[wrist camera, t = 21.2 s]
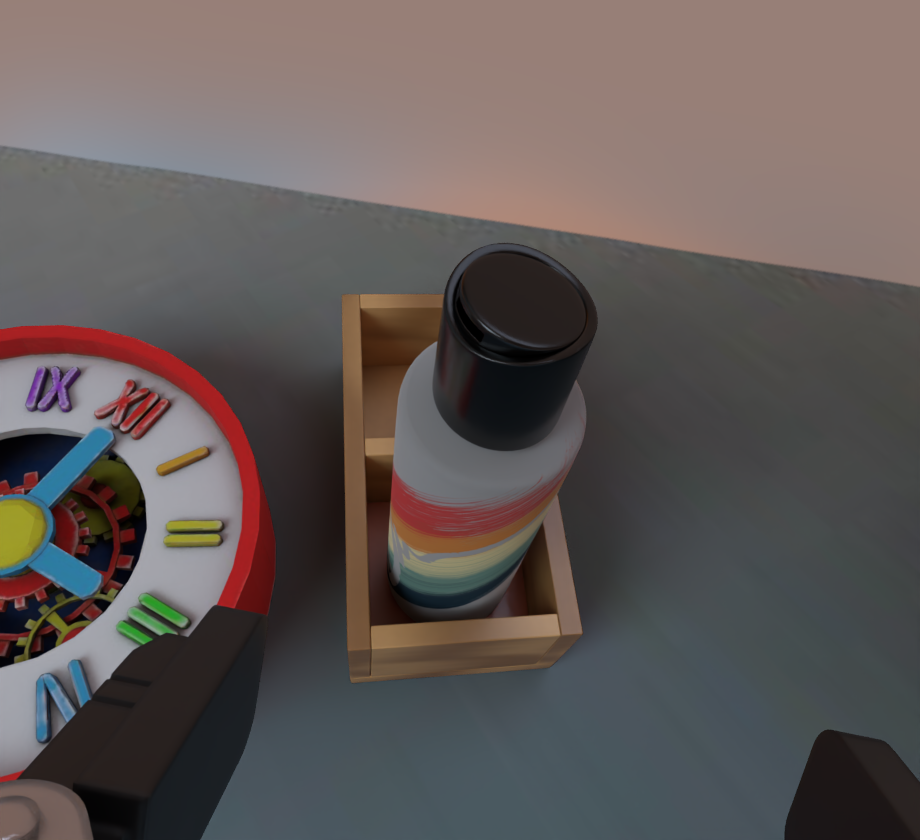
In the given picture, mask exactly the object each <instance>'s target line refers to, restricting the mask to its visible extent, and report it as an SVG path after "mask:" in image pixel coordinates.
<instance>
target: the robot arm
mask: <svg viewBox="0 0 920 840" xmlns="http://www.w3.org/2000/svg"><path fill="white" fill-rule="evenodd" d="M267 628H268V618H267V615H265V614H260V613H255V612H250V611H245V610H240V609H235V608H230V607H225V606H220V605H214V606H212V607H211V609H210V610H209V611H208V612H207V614H206V615H205V616H204V617H203V619H202V620H201V621H200V622H199V624H198V625H197V626H196V627H195V629H194V630H193V631H192V633H191V634H190V635H189V636H188V637H187V636H182V635H177V634H172V633H167V632H166V633H164V634H162V635H160V636H159V637H157V638H155V639H153V640H151V641H149V642H147V643H145V644H143V645H141V646H139V647H137V648H136V649H134V650H132V652H131V653H130V654H129V655H128V656H127V657H126V658H125V659H124V660H123V662H122V663H121V664H120V665H119V666H118V667H117V668H116V669H115V670H114V672H113V673H112V674H111V677H110V679H106V680H105V682H104V683H103V684H102V685H101V686H100V687H99V688H98V689H97V690H96V691H95V693H94V694H93V696H92V699H91V700H87V701H86V703H85V704H84V705H83V706H82V707H81V708H80V709H79V710H78V711H77V713H76V714H75V715H74V716H73V717H72V718H71V719H70V720H69V721H68V723H67V724H66V725H65V726H64V727H63V728H62V729H61V730H60V731H59V732H58V734H57V735H56V736H55V737H54V738H53V739H52V740H51V741H50V742H49V744H48V745H47V746H46V747H45V748H44V749H43V750H42V751H41V752H40V754H39V755H38V756H37V757H36V758H35V759H34V760H33V761H32V762H31V764H30V765H29V766H28V767H27V768H26V769H25V770H24V771H23V772H22V773H21V775H20V776H19V777H18V778H17V779H16V780H10V781H5V782H0V840H200V839H201V837H202V835H203V833H204V831H205V829H206V827H207V825H208V823H209V821H210V819H211V817H212V815H213V813H214V811H215V809H216V807H217V805H218V803H219V801H220V799H221V797H222V795H223V793H224V791H225V789H226V787H227V785H228V783H229V781H230V779H231V777H232V774H233V772H234V770H235V768H236V766H237V764H238V762H239V760H240V758H241V756H242V754H243V751H244V749H245V746H246V743H247V740H248V737H249V734H250V730H251V727H252V723H253V719H254V714H255V708H256V702H257V695H258V689H259V682H260V675H261V669H262V662H263V655H264V649H265V642H266V636H267ZM785 840H920V782H919V781H918V779H917V778H916V777H915V776H914V774H913V773H912V772H911V771H910V770H909V768H908V767H907V766H906V765H905V763H904V762H903V761H902V760H901V759H900V757H899V756H898V755H897V754H896V752H895V751H894V750H893V749H892V748H891V747H890V745H889V744H887V743H886V742H884V741H882V740H879V739H874V738H869V737H864V736H859V735H854V734H849V733H844V732H839V731H834V730H825V731H823V732H821V733H820V734H819V735H818V737H817V738H816V740H815V742H814V745H813V747H812V750H811V753H810V756H809V758H808V761H807V764H806V767H805V769H804V772H803V775H802V778H801V780H800V783H799V786H798V789H797V792H796V794H795V797H794V800H793V803H792V805H791V808H790V811H789V814H788V817H787V820H786V825H785Z"/></svg>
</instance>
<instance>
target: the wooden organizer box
mask: <svg viewBox="0 0 920 840" xmlns="http://www.w3.org/2000/svg"><path fill="white" fill-rule="evenodd" d="M443 298H444V294H360V295H358V294H343V295H342V340H343V404H344V467H345V531H346V594H347V651H348V661H349V672H350V681H351V683H359V682H372V681H385V680H398V679H411V678H424V677H437V676H450V675H463V674H476V673H488V672H501V671H514V670H527V669H540V668H550V667H551V666H552V665H553V664H554V663H555V662H556V661H557V660H558V659H559V658H560V657H561V656H562V655H563V654H564V653H565V652H566V651H567V650H568V649H569V648H570V647H571V646H572V645H573V644H574V643H575V642H576V641H577V640H578V639H579V638H580V637H581V636H582V635H583V630H582V625H581V619H580V614H579V608H578V603H577V597H576V592H575V586H574V581H573V575H572V570H571V564H570V559H569V553H568V548H567V542H566V537H565V531H564V526H563V520H562V515H561V509H560V504H559V498H558V493H557V495H556V497H555V499H554V501H553V503H552V505H551V507H550V509H549V511H548V512H547V514H546V516H545V518H544V520H543V522H542V524H541V526H540V528H539V530H538V532H537V533H536V535H535V537H534V539H533V541H532V543H531V545H530V547H529V549H528V551H527V552H526V554H525V556H524V558H523V560H522V562H521V564H520V566H519V568H518V570H517V572H516V573H515V575H514V577H513V579H512V581H511V583H510V585H509V587H508V589H507V590H506V592H505V594H504V596H503V597H502V599H501V601H500V602H499V604H498V605H497V606H496V608H495V609H494V610H493V611H492V612H491V613H490V614H489V615H488V616H487V617H486V618H482V619H467V620H452V621H437V622H422V623H417V622H416V621H414V620H413V619H411V618H410V617H409V616H408V615H407V614H406V613H405V612H404V611H403V610H402V609H401V608H400V606H399V605H398V604H397V602H396V600H395V599H394V597H393V595H392V592H391V589H390V586H389V582H388V575H387V551H388V535H389V520H390V504H391V489H392V473H393V458H394V442H395V428H396V416H397V405H398V397H399V392H400V388H401V385H402V382H403V379H404V377H405V375H406V373H407V371H408V369H409V367H410V366H411V364H412V363H413V361H414V360H415V359H416V358H417V357H418V356H419V355H420V354H421V353H422V352H423V351H424V350H425V349H426V348H428V347H429V346H430V345H432V344H433V343H435V342H437V341H438V334H439V326H440V319H441V311H442V304H443Z"/></svg>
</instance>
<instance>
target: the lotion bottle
mask: <svg viewBox="0 0 920 840" xmlns="http://www.w3.org/2000/svg"><path fill="white" fill-rule="evenodd" d="M596 329H597V311H596V308H595V305H594V302H593V300H592V298H591V296H590V295H589V293H588V291H587V290H586V289H585V287H584V286H583V285H582V283H581V282H580V281H579V280H578V279H577V278H576V277H575V276H574V275H573V274H572V273H571V272H570V271H569V270H568V269H567V268H566V267H564V266H563V265H562V264H560V263H559V262H558V261H556V260H555V259H553V258H552V257H550V256H548V255H546V254H544V253H542V252H541V251H538V250H536V249H533V248H530V247H527V246H524V245H520V244H513V243H497V244H491V245H487V246H484V247H481V248H479V249H477V250H475V251H473V252H471V253H470V254H468V255H467V256H466V257H465V258H464V259H462V261H461V262H460V263H459V264H458V265H457V266H456V268H455V269H454V271H453V272H452V274H451V276H450V278H449V280H448V282H447V285H446V288H445V293H444V298H443V304H442V311H441V319H440V326H439V334H438V341H437V342H435V343H433V344H432V345H430V346H429V347H428V348H426V349H425V350H424V351H423V352H422V353H421V354H420V355H419V356H418V357H417V358H416V359H415V360H414V361H413V363H412V364H411V366H410V367H409V369H408V371H407V373H406V375H405V377H404V379H403V382H402V385H401V388H400V392H399V397H398V405H397V416H396V428H395V442H394V458H393V473H392V489H391V504H390V520H389V535H388V551H387V575H388V582H389V586H390V589H391V592H392V595H393V597H394V599H395V600H396V602H397V604H398V605H399V606H400V608H401V609H402V610H403V611H404V612H405V613H406V614H407V615H408V616H409V617H410V618H411V619H413V620H414V621H416V622H417V623H422V622H437V621H452V620H467V619H482V618H486V617H487V616H488V615H489V614H490V613H491V612H492V611H493V610H494V609H495V608H496V606H497V605H498V604H499V602H500V601H501V599H502V597H503V596H504V594H505V592H506V590H507V589H508V587H509V585H510V583H511V581H512V579H513V577H514V575H515V573H516V572H517V570H518V568H519V566H520V564H521V562H522V560H523V558H524V556H525V554H526V552H527V551H528V549H529V547H530V545H531V543H532V541H533V539H534V537H535V535H536V533H537V532H538V530H539V528H540V526H541V524H542V522H543V520H544V518H545V516H546V514H547V512H548V511H549V509H550V507H551V505H552V503H553V501H554V499H555V497H556V495H557V493H558V491H559V490H560V488H561V486H562V484H563V482H564V480H565V478H566V476H567V474H568V472H569V470H570V468H571V466H572V464H573V462H574V460H575V458H576V456H577V454H578V451H579V449H580V447H581V444H582V441H583V438H584V433H585V427H586V407H585V401H584V398H583V394H582V392H581V389H580V387H579V385H578V383H577V381H576V378H577V376H578V374H579V371H580V369H581V367H582V364H583V362H584V360H585V357H586V355H587V353H588V350H589V348H590V346H591V343H592V341H593V338H594V336H595V333H596Z"/></svg>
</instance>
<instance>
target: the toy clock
mask: <svg viewBox="0 0 920 840" xmlns="http://www.w3.org/2000/svg"><path fill="white" fill-rule="evenodd" d="M275 576H276V540H275V535H274V529H273V524H272V519H271V513H270V509H269V505H268V502H267V499H266V495H265V492H264V488H263V485H262V482H261V478H260V475H259V472H258V468H257V465H256V461H255V458H254V455H253V452H252V450H251V447H250V445H249V442H248V440H247V437H246V435H245V432H244V430H243V427H242V425H241V423H240V421H239V420H238V418H237V417H236V415H235V414H234V412H233V411H232V409H231V408H230V406H229V405H228V404H227V402H226V401H225V399H224V398H223V396H222V395H221V394H220V393H219V392H218V391H217V390H216V389H215V388H214V387H213V386H212V385H211V384H210V383H209V382H208V381H207V380H206V379H205V378H204V377H203V376H202V375H201V374H199V373H198V372H197V371H196V370H194V369H193V368H191V367H190V366H188V365H187V364H185V363H184V362H182V361H181V360H179V359H178V358H176V357H175V356H173V355H172V354H170V353H169V352H167V351H164V350H162V349H159V348H157V347H155V346H152V345H150V344H148V343H145V342H143V341H141V340H138V339H136V338H132V337H128V336H124V335H120V334H117V333H113V332H109V331H105V330H101V329H92V328H83V327H74V326H64V325H55V326H20V327H14V328H7V329H0V782H5V781H10V780H16V779H17V778H18V777H19V776H20V775H21V773H22V772H23V771H24V770H25V769H26V768H27V767H28V766H29V765H30V764H31V762H32V761H33V760H34V759H35V758H36V757H37V756H38V755H39V754H40V752H41V751H42V750H43V749H44V748H45V747H46V746H47V745H48V744H49V742H50V741H51V740H52V739H53V738H54V737H55V736H56V735H57V734H58V732H59V731H60V730H61V729H62V728H63V727H64V726H65V725H66V724H67V723H68V721H69V720H70V719H71V718H72V717H73V716H74V715H75V714H76V713H77V711H78V710H79V709H80V708H81V707H82V706H83V705H84V704H85V703H86V701H87V700H91V699H92V696H93V694H94V693H95V691H96V690H97V689H98V688H99V687H100V686H101V685H102V684H103V683H104V682H105V680H106V679H110V677H111V674H112V673H113V672H114V670H115V669H116V668H117V667H118V666H119V665H120V664H121V663H122V662H123V660H124V659H125V658H126V657H127V656H128V655H129V654H130V653H131V652H132V650H134V649H136V648H137V647H139V646H141V645H143V644H145V643H147V642H149V641H151V640H153V639H155V638H157V637H159V636H160V635H162V634H164V633H166V632H167V633H172V634H177V635H182V636H187V637H188V636H189V635H190V634H191V633H192V631H193V630H194V629H195V627H196V626H197V625H198V624H199V622H200V621H201V620H202V619H203V617H204V616H205V615H206V614H207V612H208V611H209V610H210V609H211V607H212V606H214V605H220V606H225V607H230V608H235V609H240V610H245V611H250V612H255V613H260V614H265V615H268V613H269V608H270V602H271V597H272V592H273V587H274V582H275Z"/></svg>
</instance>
